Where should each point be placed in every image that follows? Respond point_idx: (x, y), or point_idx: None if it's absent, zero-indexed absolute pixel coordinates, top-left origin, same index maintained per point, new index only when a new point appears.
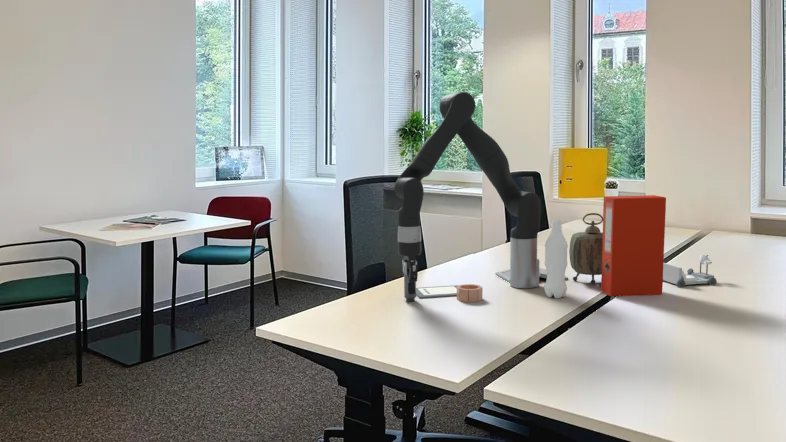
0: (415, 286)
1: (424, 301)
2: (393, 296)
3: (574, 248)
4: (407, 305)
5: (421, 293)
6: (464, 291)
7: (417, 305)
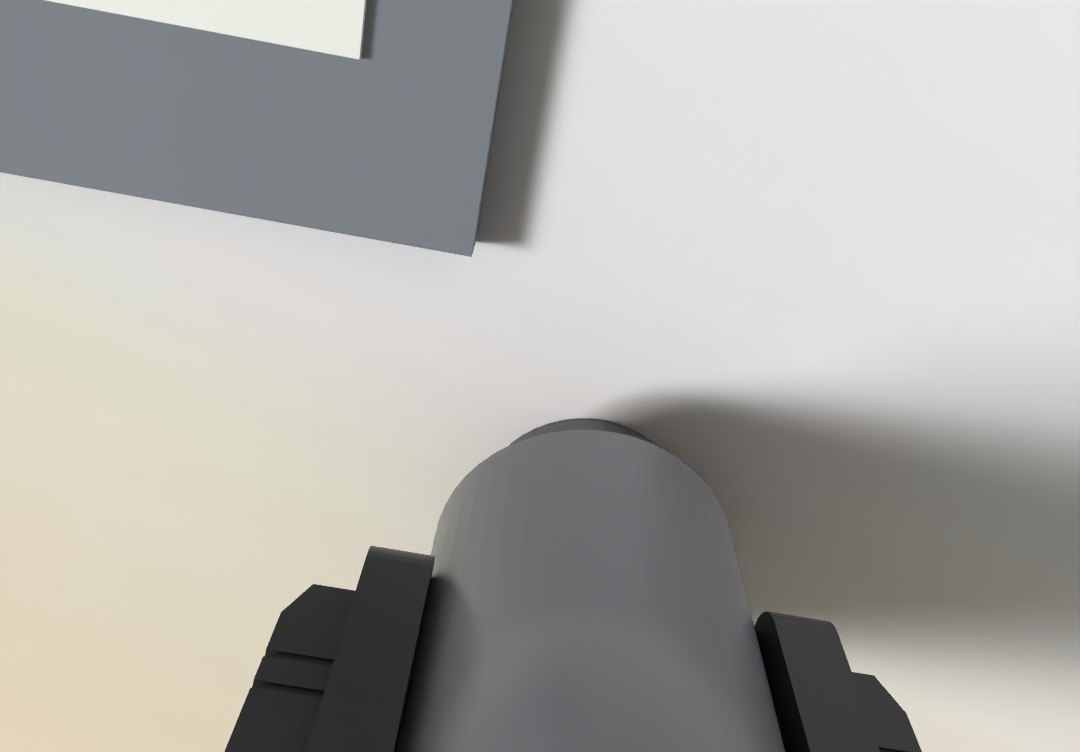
0: (750, 694)
1: (817, 248)
2: (77, 658)
3: None
4: (916, 686)
5: (84, 29)
6: None
7: (1047, 530)
